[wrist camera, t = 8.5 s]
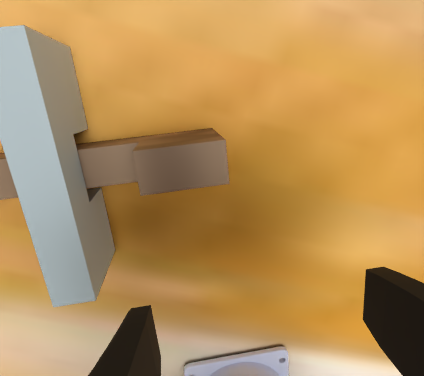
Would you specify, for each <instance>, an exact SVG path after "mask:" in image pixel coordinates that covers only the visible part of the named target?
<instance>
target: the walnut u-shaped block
mask: <svg viewBox="0 0 424 376" xmlns="http://www.w3.org/2000/svg"><path fill="white" fill-rule="evenodd" d="M76 148H77V152H78V156H79V160H80V164H81V168H82V173H83V177H84V181H85V185H86V188H94V187H101V186H109V185H116V184H124V183H132V182H138V185H139V190H140V195H141V196H142V195H150V194H157V193H165V192H172V191H179V190H187V189H194V188H202V187H209V186H216V185H224V184H229V173H228V162H227V151H226V140H225V139H224V138H223V137H222V136H220V135H219V134H218V133H217V132H216V131H215V130H213V129H212V128H209V129H201V130H193V131H184V132H176V133H168V134H159V135H151V136H142V137H134V138H126V139H117V140H109V141H100V142H92V143H84V144H76ZM10 198H18V194H17V191H16V188H15V184H14V181H13V178H12V175H11V172H10V169H9V165H8V162H7V159H6V156H5V153H0V200H2V199H10Z"/></svg>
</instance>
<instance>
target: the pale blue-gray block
mask: <svg viewBox="0 0 424 376" xmlns="http://www.w3.org/2000/svg"><path fill="white" fill-rule="evenodd" d="M87 129H88V126H87V122H86V117H85V113H84V108H83V104H82V99H81V95H80V90H79V86H78V81H77V77H76V72H75V68H74V64H73V59H72V55H71V50H70V47H69V46H66V45H64V44H62V43H60V42H58V41H56V40H54V39H52V38H50V37H48V36H45V35H43V34H41V33H39V32H37V31H35V30H33V29H31V28H29V27H27V26H24V25H21V26H9V27H0V140H1V143H2V146H3V150H4V153H5V156H6V159H7V162H8V165H9V169H10V172H11V175H12V178H13V181H14V184H15V188H16V191H17V194H18V197H19V200H20V203H21V207H22V210H23V213H24V216H25V219H26V222H27V226H28V229H29V232H30V235H31V238H32V241H33V245H34V248H35V251H36V254H37V257H38V260H39V264H40V267H41V270H42V273H43V276H44V279H45V282H46V286H47V289H48V292H49V295H50V298H51V301H52V305H53V307H58V306H64V305H71V304H77V303H83V302H89V301H96V299H97V296H98V294H99V291H100V288H101V286H102V283H103V281H104V278H105V276H106V273H107V270H108V268H109V265H110V263H111V260H112V257H113V255H114V252H115V247H114V242H113V238H112V233H111V229H110V224H109V220H108V215H107V211H106V206H105V202H104V197H103V193H102V189H101V188H95V189H86V185H85V181H84V177H83V173H82V168H81V164H80V160H79V156H78V152H77V148H76V143H75V139H74V135H73V134H76V133H79V132H81V131H84V130H87Z"/></svg>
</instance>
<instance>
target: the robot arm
mask: <svg viewBox="0 0 424 376" xmlns="http://www.w3.org/2000/svg"><path fill="white" fill-rule="evenodd" d="M363 320H364V322H365V324H366V325H367V327H368V329H369V330H370V332H371V334H372V335H373V337H374V338H375V340H376V341H377V343H378V344H379V346H380V347H381V349H382V350H383V351H384V353H385V354H386V355H387V357H388V358H389V359H390V360H391V362H392V363H393V364H394V365H395V367H396V368H397V369H398V370H399V372H400V373H401V374H402V375H403V376H424V283H422V282H420V281H417V280H415V279H413V278H410V277H408V276H406V275H403V274H401V273H398V272H396V271H393V270H391V269H388V268H385V267H379V268H372V269H366V277H365V294H364V310H363ZM280 358H281V359H280ZM88 376H161V355H160V350H159V345H158V340H157V335H156V330H155V325H154V320H153V315H152V310H151V305H149V306H143V307H137V308H131V309H130V311H129V312H128V313H127V315H126V317H125V319H124V320H123V322H122V324H121V325H120V327H119V329H118V330H117V332H116V334H115V335H114V337H113V339H112V340H111V342H110V343H109V345H108V347H107V348H106V350H105V351H104V353H103V354H102V356H101V357H100V359H99V360H98V362H97V363H96V365H95V367H94V368H93V369H92V371H91V372H90V374H89V375H88ZM184 376H289V363H288V351H287V349H286V348H285V347H283V346H282V347H275V348H269V349H264V350H258V351H253V352H248V353H242V354H237V355H231V356H226V357H220V358H215V359H209V360H204V361H198V362H193V363H189V364H187V365H185V367H184Z"/></svg>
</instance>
